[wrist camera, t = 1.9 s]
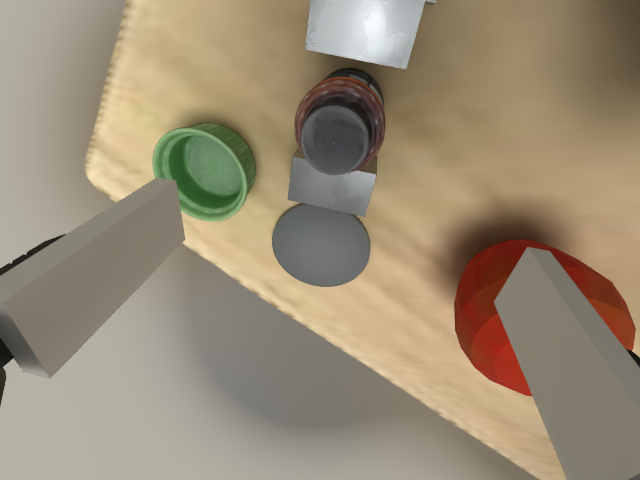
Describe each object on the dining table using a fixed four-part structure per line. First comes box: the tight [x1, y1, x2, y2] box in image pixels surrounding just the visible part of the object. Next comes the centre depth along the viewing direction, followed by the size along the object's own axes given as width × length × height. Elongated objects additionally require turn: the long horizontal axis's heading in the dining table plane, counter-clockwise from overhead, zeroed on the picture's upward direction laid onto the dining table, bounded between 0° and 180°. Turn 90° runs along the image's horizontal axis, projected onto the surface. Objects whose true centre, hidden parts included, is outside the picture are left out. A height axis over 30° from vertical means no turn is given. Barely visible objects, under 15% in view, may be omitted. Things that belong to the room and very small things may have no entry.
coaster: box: [272, 203, 370, 287], centre depth 35 cm, size 11×11×1 cm
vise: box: [288, 0, 436, 217], centre depth 24 cm, size 20×9×5 cm, turn 171°
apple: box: [454, 239, 636, 396], centre depth 27 cm, size 12×12×14 cm
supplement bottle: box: [295, 68, 385, 175], centre depth 22 cm, size 6×6×11 cm
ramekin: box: [153, 123, 256, 221], centre depth 30 cm, size 9×9×4 cm
